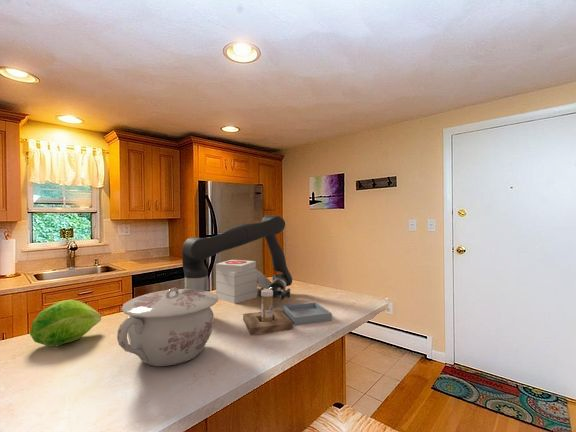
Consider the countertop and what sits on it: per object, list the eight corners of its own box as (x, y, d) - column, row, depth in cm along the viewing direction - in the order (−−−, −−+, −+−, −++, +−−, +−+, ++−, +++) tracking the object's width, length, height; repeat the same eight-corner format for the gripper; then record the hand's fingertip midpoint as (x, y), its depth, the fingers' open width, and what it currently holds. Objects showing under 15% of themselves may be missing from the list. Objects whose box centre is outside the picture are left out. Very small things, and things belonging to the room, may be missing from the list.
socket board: (250, 335, 106) (250, 328, 106) (243, 319, 122) (243, 313, 122) (293, 329, 111) (293, 323, 111) (280, 315, 127) (280, 309, 127)
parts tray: (294, 325, 116) (294, 317, 116) (282, 312, 131) (282, 305, 131) (331, 320, 121) (331, 313, 121) (315, 308, 136) (315, 301, 136)
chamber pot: (208, 331, 110) (207, 275, 110) (228, 364, 86) (228, 293, 85) (121, 346, 97) (120, 283, 97) (116, 391, 73) (116, 307, 73)
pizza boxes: (277, 292, 163) (277, 259, 163) (233, 305, 140) (233, 267, 140) (253, 286, 176) (253, 256, 175) (209, 297, 153) (209, 262, 153)
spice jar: (270, 327, 114) (270, 292, 113) (259, 326, 115) (259, 291, 115) (274, 323, 118) (274, 289, 118) (263, 321, 119) (263, 288, 119)
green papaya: (110, 336, 105) (109, 298, 105) (37, 359, 89) (37, 313, 89) (92, 326, 114) (92, 291, 114) (23, 345, 98) (23, 304, 98)
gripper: (263, 279, 144) (255, 288, 128) (292, 280, 143) (288, 288, 127) (263, 294, 144) (255, 305, 128) (292, 295, 143) (288, 306, 127)
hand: (271, 297), depth 127 cm, fingers open, 8 cm apart
